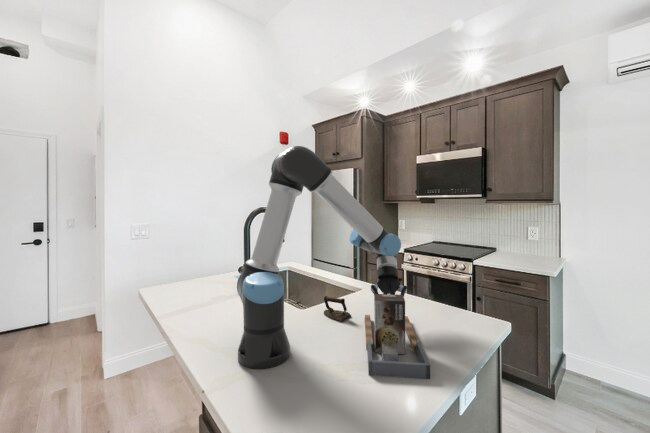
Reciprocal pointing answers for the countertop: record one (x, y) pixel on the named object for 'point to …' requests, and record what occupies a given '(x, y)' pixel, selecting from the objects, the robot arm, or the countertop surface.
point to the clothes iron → (336, 314)
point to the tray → (399, 365)
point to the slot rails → (408, 330)
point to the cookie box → (389, 320)
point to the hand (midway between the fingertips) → (392, 333)
